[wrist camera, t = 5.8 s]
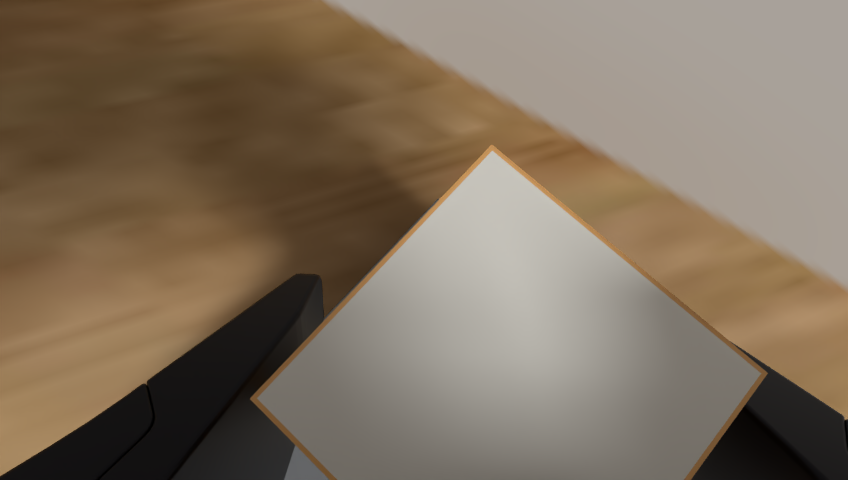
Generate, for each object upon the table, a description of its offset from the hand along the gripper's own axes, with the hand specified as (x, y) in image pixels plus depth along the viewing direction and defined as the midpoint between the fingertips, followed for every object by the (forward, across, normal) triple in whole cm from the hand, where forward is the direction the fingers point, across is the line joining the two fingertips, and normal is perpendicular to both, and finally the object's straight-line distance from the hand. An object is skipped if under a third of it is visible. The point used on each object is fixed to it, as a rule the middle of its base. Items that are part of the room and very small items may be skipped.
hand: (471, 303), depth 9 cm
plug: (+5, 0, +6) cm, 8 cm away
